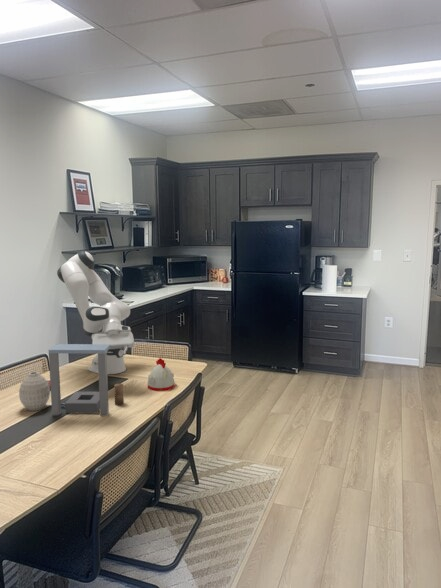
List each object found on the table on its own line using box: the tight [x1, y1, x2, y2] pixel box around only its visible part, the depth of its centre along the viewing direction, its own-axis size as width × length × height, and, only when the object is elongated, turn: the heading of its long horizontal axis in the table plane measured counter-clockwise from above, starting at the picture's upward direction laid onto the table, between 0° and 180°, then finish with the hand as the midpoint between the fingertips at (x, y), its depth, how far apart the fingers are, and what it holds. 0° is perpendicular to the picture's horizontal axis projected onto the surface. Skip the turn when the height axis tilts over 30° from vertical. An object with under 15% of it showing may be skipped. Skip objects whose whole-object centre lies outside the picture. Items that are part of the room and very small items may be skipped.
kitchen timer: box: [147, 357, 176, 392], centre depth 224 cm, size 14×14×15 cm
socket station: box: [48, 343, 110, 416], centre depth 195 cm, size 16×24×30 cm
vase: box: [18, 371, 51, 412], centre depth 196 cm, size 13×13×17 cm
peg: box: [113, 383, 125, 406], centre depth 202 cm, size 4×4×9 cm
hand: (114, 355), depth 211 cm, fingers open, 8 cm apart
